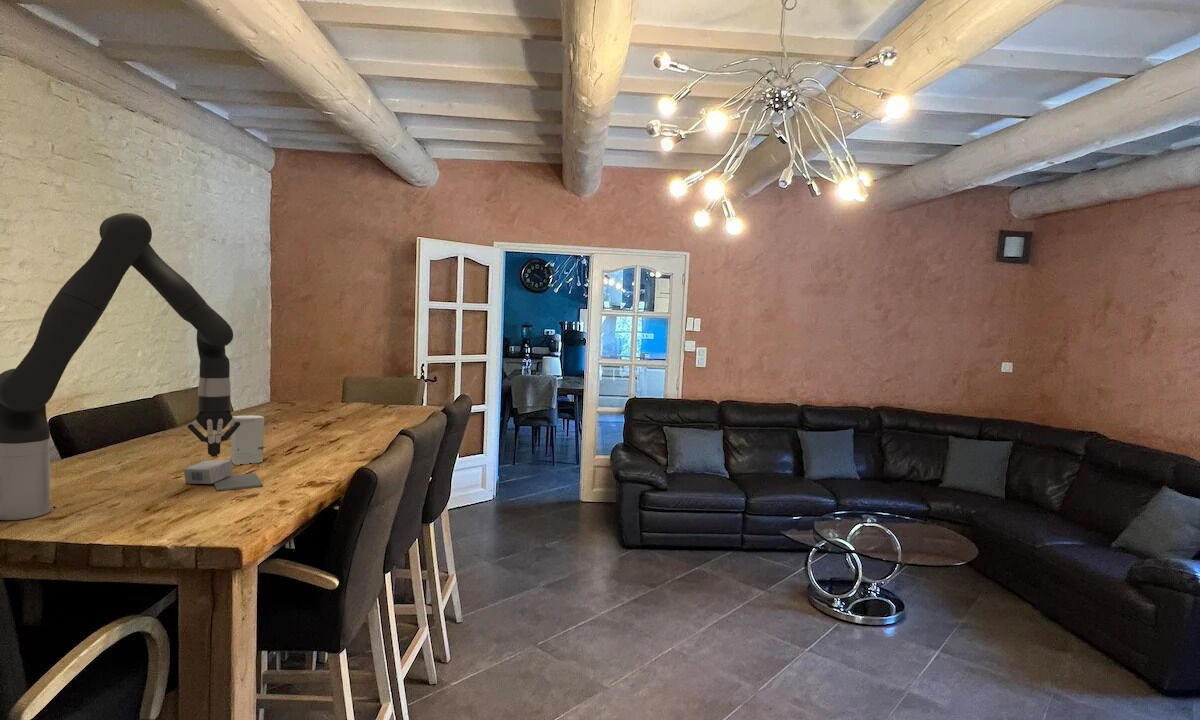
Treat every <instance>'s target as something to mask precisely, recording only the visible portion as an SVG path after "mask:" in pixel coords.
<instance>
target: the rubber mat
mask: <svg viewBox="0 0 1200 720" xmlns="http://www.w3.org/2000/svg"><path fill="white" fill-rule="evenodd" d="M213 487H214V488H216V489H215V491H216V492H220V491H219V490H226V491H232V490H231V489H235V490H243V488H245V489H253V488H254V487H255V488H263V487H264V484H263V483H262V481H261V480H260V478H259V477H258V474H257V473H255V472H254V473H241V474H232V475H230V476H228V477H226V478H224V479H221V480H219V481H217V482H215V483H214V484H213Z"/></svg>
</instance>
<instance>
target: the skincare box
mask: <svg viewBox="0 0 1200 720" xmlns="http://www.w3.org/2000/svg"><path fill="white" fill-rule="evenodd" d="M232 418H233V419H235V420H236V421H239V422H240V426H239V427H238V428H237V429H236V431H235V432H234V433H233V434H232V435H231V436H230V438H231V441H230V460H231V464H233V465H234V464H235V465H234V466H241V465H240V464H243V465H250V464H249V463H252V464H260V462H262V463H263V462H264V461H263V458H264V457H263V455H264V438H265V436H264V433H265V416H262V415H260V414H259V415H258V414H257V415H256V414H255V415H250V414H249V415H248V414H247V415H232ZM230 460H229V461H230Z"/></svg>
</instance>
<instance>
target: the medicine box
mask: <svg viewBox="0 0 1200 720" xmlns="http://www.w3.org/2000/svg"><path fill="white" fill-rule="evenodd" d="M183 473H184V480H185V484H186V483H188V485H189V484H191V485H196V484H197V485H203V484H204V485H213V483H215V482H217V481H219V480H221V479H224V478H226V477H228V476H230V475H233V466H232V462H231V460H211V459H209V460H203V461H201V462H198V463H196V464H192V465H190V466H187V467H185V468H183Z"/></svg>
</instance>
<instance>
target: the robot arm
mask: <svg viewBox="0 0 1200 720" xmlns="http://www.w3.org/2000/svg"><path fill="white" fill-rule="evenodd" d="M98 230H99V231H98V232H99V236H100V241H99V243H98V245H97V247H96V249H95V250H94V251H93V253H92V254H91V256H90V258H89V259H87V261H86V262H85V263H84V264H83V265H82V266H80V267H79V269H77V271H75V272H74V274H73V275H72V276H70V278H69V279H67V281H66V282H65V283H64V284H63V286H62V287H61V288H60V289H59V290H58V292H57V293H56V295H55V297H54V298H53V299H52V300H51V302H50V303H49V305H48V307H47V308H46V311H45V313H44V315H43V317H42V320H41V323H40V326H39V328H38V331H37V334H36V337H35V340H34V342H33V344H32V346H31V348H30V349H29V351H28V352H27V354H26V355H25V356H24V357H23V359H22V360H21V361H20V363H18V365H17V366H16V367H14V368H11V369H7V370H5V371H3V372H1V373H0V521H17V520H26V519H32V518H36V517H40V516H44V515H47V514H48V513H50V512H51V437H50V436H51V428H50V425H49V422H48V417H47V403H49V402H50V400H51V399H52V397H53V395H54V393H55V391H56V389H57V387H58V385H59V382H60V381H61V378H62V376H63V374H64V373H65V370H66V368H67V367H68V364H69V363H70V362H71V359H72V358H73V356H74V355H75V354H76V352H77V351H78V350H79V349H80V347H81V346H82V345H83V343H84V342H85V341H86V339H87V337H88V336H89V334H90V333H91V332H92V330H93V328H94V327H96V325H97V323H98V322H99V320H100V318H101V316H102V315H103V314H104V312H105V310H106V309H107V307H108V305H109V303H110V301H111V300H112V298H113V297H114V295H115V293H116V291H117V289H118V287H119V285H120V284H121V282H122V279H123V278H124V276H125V274H126V273H127V272H128V271H129V269H130V268H131V267H133V268H134V269H135V270H136V271H137V272H138V273H139V274H140V275H141V276H142V277H143V278H144V279H145V280H146V281H147V282H148V283H149V284H150V285H151V286H152V287H153V288H154V289H155V290H156V291H157V292H158V294H159V295H160V296H162V298H163V300H164V301H166V302H167V304H168V305H169V306H170V307H171V308H172V309H173V310H174V311H175V313H176V314H178V315H179V316H180V317H181V318H182V319H183V320H184V321H185V322H188V323H189V324H190V325H192V326H193V327H194V329H196V330H197V331H196V346H197V351H198V357H199V381H198V389H197V393H198V398H197V399H198V400H197V403H198V404H197V415H196V416H195V419H194V420H193V421H192V422H188V423H187V428H188V430H189V431H190V432H191V433H192V434H193V435H194V436H196V437H197V439H199V440H200V441H201V442H202V443H206V444H207V454H208V455H209V456H210V457H211V458H216V457H218V455H220V454H221V443H222V442H225V441H229V439H230V438H231V435H232V434H233V433H234V432H235V431H236V429H237V428H238V427H239V426H240V422H239V421H236V420H235V419H233V418H232V416H233V414H232V413H231V387H232V386H231V381H230V380H231V379H230V370H231V369H230V367H231V366H230V359H229V357H228V356H227V354H226V346H229V344H231V343H232V341H233V339H234V330H233V329H232V327H231V325H230V324H229V323H228V322H227V320H226V319H224V317H222V316H221V315H220V314H219V313H218V312H217V311H216V310H214V309H213V308H212V307H211V306H210V305H209V304H208V303H207V302H206V301H205V299H204V298H203V297H202V295H200V293H199V292H198V291H197V290H196V288H194V287H193V286H192V285H191V283H189V282H188V280H187V279H185V278H184V277H183V276H182V275H180V274H179V273H178V272H177V271H176V270H175V269H174V268H172V267H171V266H170V265H169V264H168V263H166V262H165V261H164V260H163V259H162V258H161V256H159V255H158V253H157V252H156V251H155V249H153V246H152V245H151V244H150V242H151V240H152V239H153V238H152V236H153V231H152V227H151V224H150V223H149V221H147V219H145V218H144V217H143V216H141V215H139V214H137V213H131V212H124V213H123V212H121V213H117V214H114V215H112V216H109V217H107V218H105V219H104V220H103V221H102V222H101V223H100V226H99V229H98ZM198 424H199V425H200V426H201V428H203V430H204V431H206V436H205V435H204V434H203V433H202V432H201V431H200V430H199V429H198V428H199V425H198ZM228 425H229V426H230V427H229V428H228V429H227V430H226V431H225V433H224V434H223V430H224V429H225V428H226V427H227V426H228ZM214 431H215V432H214ZM214 433H215V434H214Z"/></svg>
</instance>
